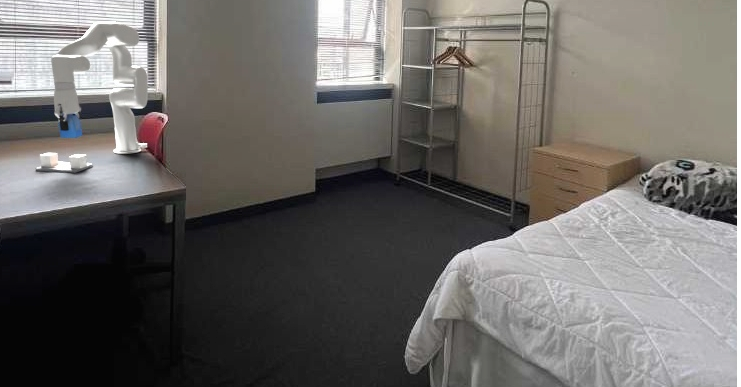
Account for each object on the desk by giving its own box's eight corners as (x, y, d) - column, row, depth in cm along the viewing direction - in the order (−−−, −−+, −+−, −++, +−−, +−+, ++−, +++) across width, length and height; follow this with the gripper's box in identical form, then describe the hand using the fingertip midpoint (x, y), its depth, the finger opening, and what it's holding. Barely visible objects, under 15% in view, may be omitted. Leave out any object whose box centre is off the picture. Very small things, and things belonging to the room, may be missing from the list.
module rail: (92, 166, 236) (91, 153, 235) (75, 172, 225) (73, 158, 223) (55, 164, 238) (53, 151, 237) (35, 170, 227) (33, 156, 225)
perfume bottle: (67, 135, 230) (63, 107, 227) (82, 135, 231) (78, 107, 228) (60, 137, 224) (56, 109, 221) (76, 137, 225) (72, 109, 222)
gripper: (69, 84, 230) (74, 125, 235) (42, 87, 214) (48, 132, 219) (86, 85, 230) (91, 126, 235) (60, 88, 213) (65, 132, 218)
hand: (70, 128), depth 227 cm, fingers closed on perfume bottle, 7 cm apart
